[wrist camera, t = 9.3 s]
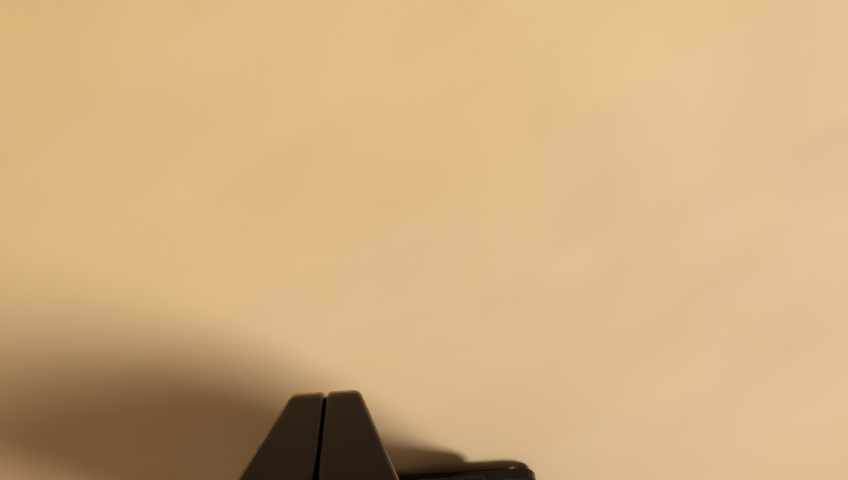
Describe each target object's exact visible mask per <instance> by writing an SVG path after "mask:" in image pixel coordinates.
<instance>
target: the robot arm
mask: <svg viewBox="0 0 848 480" xmlns="http://www.w3.org/2000/svg"><path fill="white" fill-rule="evenodd" d="M238 480H536V479H535V474H534V472H533V471H532V470H529V469H524V468H520V469H504V470H489V471H473V472H458V473H442V474H427V475H411V476H397V473H396V471H395V469H394V467H393V464H392V462H391V460H390V458H389V455H388V453H387V451H386V449H385V446H384V444H383V442H382V440H381V437H380V435H379V433H378V431H377V428H376V426H375V424H374V422H373V419H372V417H371V415H370V413H369V410H368V408H367V406H366V404H365V401H364V399H363V397H362V395H361V393H360V392H359V391H356V390H351V391H334V392H330V393H328V395H327V397H326V396H325V394H323V393H320V392H318V393H302V394H295V395H293V396H292V397H291V398H290V399H289V400H288V402H287V403H286V405H285V406H284V408H283V410H282V411H281V413H280V414H279V416H278V417H277V419H276V421H275V422H274V424H273V425H272V427H271V428H270V430H269V431H268V433H267V435H266V436H265V438H264V439H263V441H262V442H261V444H260V445H259V447H258V449H257V450H256V452H255V453H254V455H253V456H252V458H251V459H250V461H249V463H248V464H247V466H246V467H245V469H244V470H243V472H242V474H241V475H240V477H239V478H238Z"/></svg>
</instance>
